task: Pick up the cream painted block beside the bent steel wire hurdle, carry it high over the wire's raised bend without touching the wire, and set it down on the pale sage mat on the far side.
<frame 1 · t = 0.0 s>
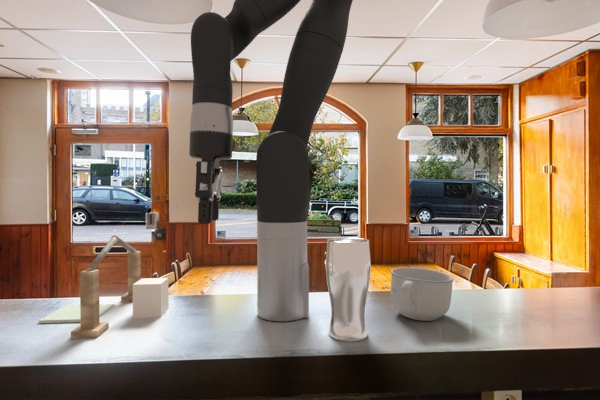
hand: (208, 221, 69), 17 cm above the table, tool pointing down, fingers open, 8 cm apart
teacup: (416, 318, 68), on the table
beer glass: (348, 335, 60), on the table
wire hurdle: (115, 313, 71), on the table
cream block: (151, 312, 71), on the table
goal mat: (79, 314, 70), on the table
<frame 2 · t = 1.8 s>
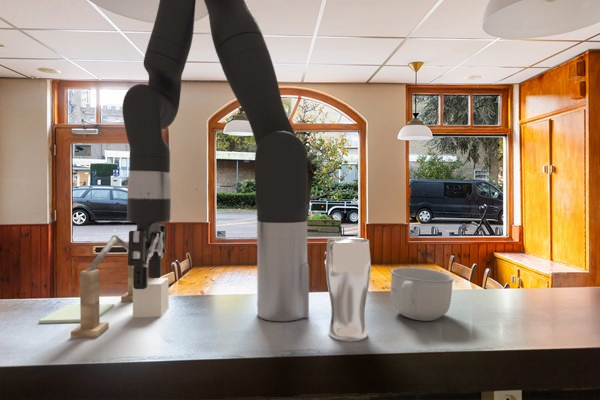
hand: (148, 282, 71), 6 cm above the table, tool pointing down, fingers open, 8 cm apart
nothing on the table moved.
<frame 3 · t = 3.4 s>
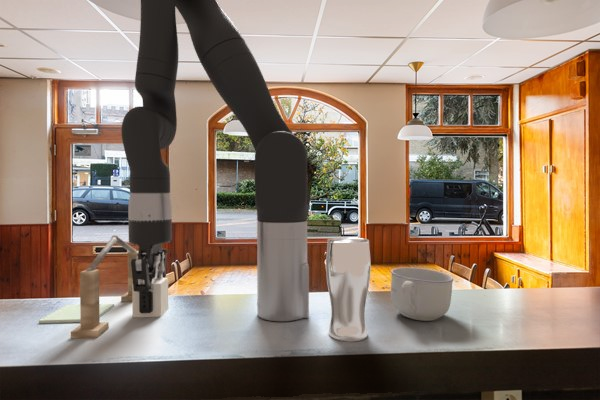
hand: (151, 307, 71), 1 cm above the table, tool pointing down, fingers closed on cream block, 5 cm apart
cream block: (151, 312, 71), on the table, touching gripper
everything else where it was.
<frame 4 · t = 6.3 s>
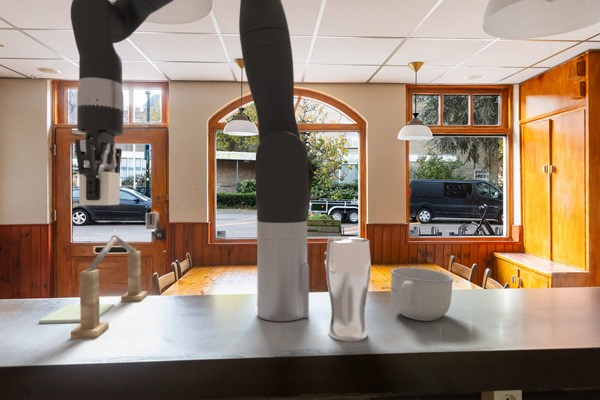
hand: (100, 199, 70), 21 cm above the table, tool pointing down, fingers closed on cream block, 5 cm apart
cream block: (100, 204, 70), point 20 cm above the table, touching gripper
everything else where it was.
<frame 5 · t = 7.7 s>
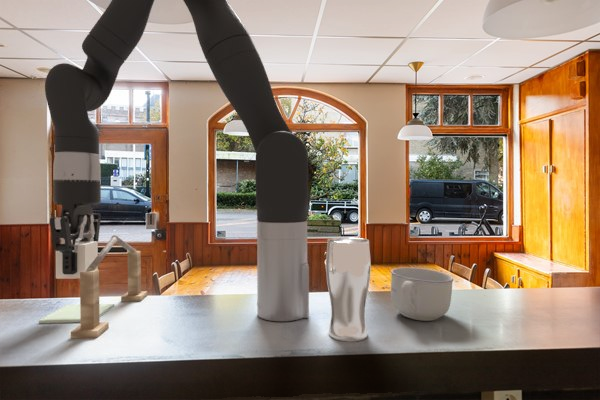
hand: (77, 270, 70), 8 cm above the table, tool pointing down, fingers closed on cream block, 5 cm apart
cream block: (77, 275, 70), point 7 cm above the table, touching gripper
everything else where it was.
when the fingers open (3 cm above the table, at t = 9.2 s): cream block drops 2 cm, resting on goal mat.
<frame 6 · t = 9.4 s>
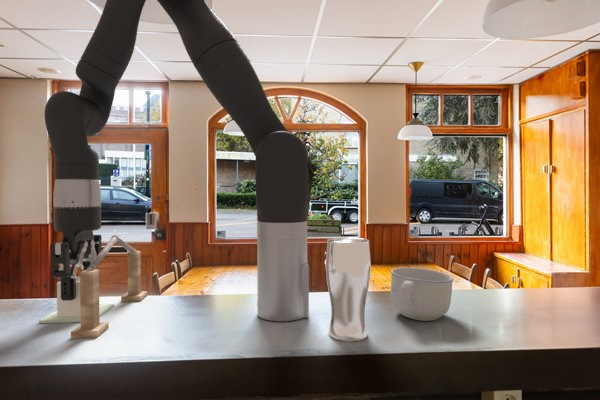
hand: (79, 294, 70), 4 cm above the table, tool pointing down, fingers open, 6 cm apart
cream block: (78, 311, 70), resting on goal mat
everything else where it was.
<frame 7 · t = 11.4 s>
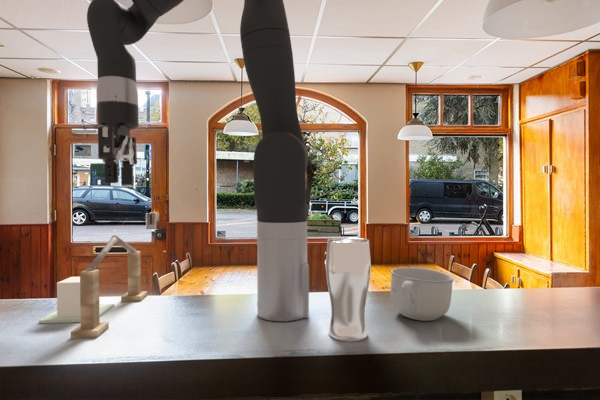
hand: (120, 183, 77), 24 cm above the table, tool pointing down, fingers open, 8 cm apart
nothing on the table moved.
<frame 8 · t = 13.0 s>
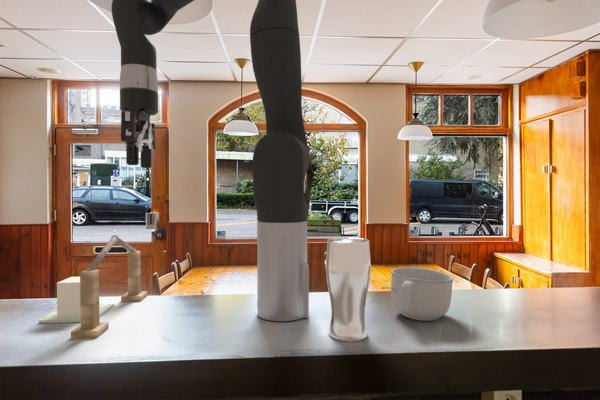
hand: (139, 166, 81), 28 cm above the table, tool pointing down, fingers open, 8 cm apart
nothing on the table moved.
at the end: cream block 0.1 cm off-centre on the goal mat, point 0.5 cm above the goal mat's base; cream block tilted 0°; cream block touching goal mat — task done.
